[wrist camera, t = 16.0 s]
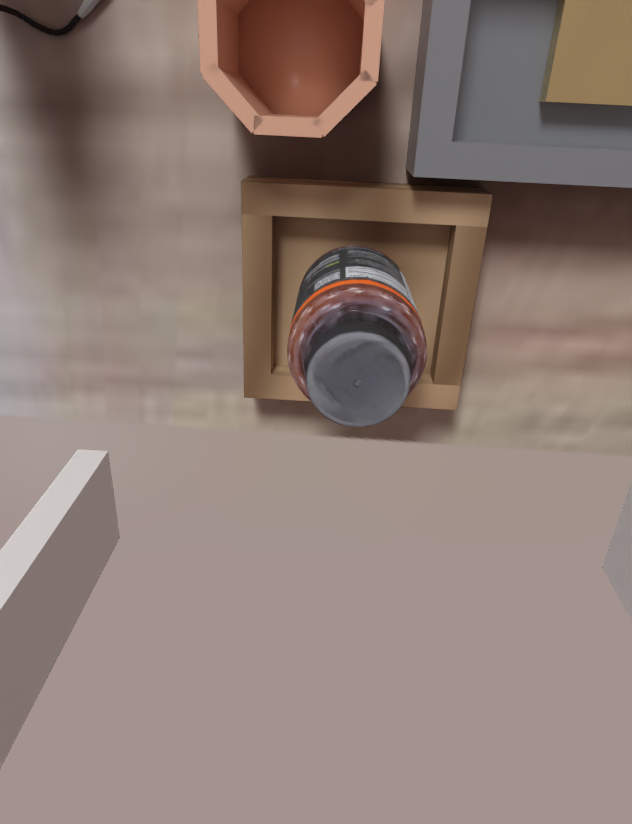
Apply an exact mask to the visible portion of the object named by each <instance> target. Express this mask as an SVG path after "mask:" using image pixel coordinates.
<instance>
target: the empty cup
mask: <svg viewBox="0 0 632 824" xmlns="http://www.w3.org/2000/svg"><path fill="white" fill-rule="evenodd" d="M383 12H384V0H198V22H199V47H200V73H202V74H203V75H202V77H203V78H204V79H205V80H206V82H207V83H208V84H209V85H210V86H211V87H212V89H213V90H214V91H215V92H216V93H217V94H218V95H219V97H220V98H221V99H222V100H223V101H224V102H225V103H226V105H227V106H228V107H229V108H230V109H231V110H232V111H233V113H234V114H235V115H236V116H237V117H238V118H239V120H240V121H241V122H242V123H243V124H244V125H245V126H246V128H247V129H248V130H249V131H250V132H251V133H254V134H256V135H276V136H296V137H316V138H322V137H323V136H324V137H325V136H326V135H327V134H328V133H329V132H330V131H331V130H332V129H333V128H334V127H335V126H336V125H337V124H338V123H339V122H340V121H341V120H342V119H343V118H344V117H345V116H346V115H347V114H348V113H349V112H350V111H351V110H352V109H353V108H354V107H355V106H356V105H357V104H358V103H359V102H360V101H361V100H362V99H363V98H364V97H365V96H366V95H367V94H368V93H369V92H370V91H371V90H372V89H373V88H374V87H375V86H376V85H377V84H376V83H377V82H378V75H379V63H380V50H381V37H382V25H383Z"/></svg>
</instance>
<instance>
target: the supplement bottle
mask: <svg viewBox="0 0 632 824" xmlns="http://www.w3.org/2000/svg"><path fill="white" fill-rule="evenodd" d="M287 358H288V364H289V368H290V371H291V374H292V377H293V379H294V381H295V383H296V384H297V386H298V388H299V389H300V390H301V392H302V393H303V394H304V395H305V396H306V397H307V398H308V399H309V400H310V401H311V402H312V403H313V405H314V406H315V407H316V409H317V410H318V411H319V412H320V413H321V414H323V415H324V416H325V417H326V418H328V419H329V420H331V421H333V422H335V423H338V424H340V425H344V426H349V427H368V426H372V425H375V424H378V423H380V422H383V421H385V420H386V419H388V418H390V417H391V416H392V415H394V414H395V413H396V412H397V411H398V410H399V409H400V407H401V406H402V405H403V403H404V401H405V400H406V398H407V396H408V395H409V394H410V393H411V392H412V391H413V389H414V388H415V387H416V385H417V384H418V382H419V380H420V378H421V376H422V373H423V371H424V368H425V363H426V358H427V346H426V337H425V332H424V329H423V326H422V322H421V319H420V316H419V314H418V311H417V308H416V306H415V302H414V300H413V297H412V295H411V292H410V289H409V286H408V284H407V282H406V279H405V277H404V275H403V274H402V272H401V270H400V269H399V267H398V265H397V264H396V263H395V262H394V261H393V260H392V259H391V258H390V257H388V256H387V255H386V254H384V253H382V252H381V251H379V250H377V249H374V248H371V247H368V246H363V245H346V246H342V247H338V248H335V249H332V250H331V251H328V252H327V253H325V254H323V255H322V256H321V257H319V258H318V259H317V260H316V261H315V262H314V263H313V264H312V265H311V266H310V267H309V269H308V270H307V272H306V274H305V276H304V277H303V280H302V282H301V285H300V288H299V292H298V297H297V301H296V305H295V310H294V314H293V318H292V322H291V327H290V332H289V338H288V346H287Z"/></svg>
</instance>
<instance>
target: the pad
mask: <svg viewBox="0 0 632 824" xmlns="http://www.w3.org/2000/svg"><path fill="white" fill-rule="evenodd" d="M539 102H556V103H577V104H598V105H619V106H632V0H559V1H558V6H557V11H556V16H555V22H554V27H553V32H552V37H551V43H550V48H549V53H548V59H547V64H546V69H545V74H544V80H543V85H542V90H541V95H540V101H539Z"/></svg>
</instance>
